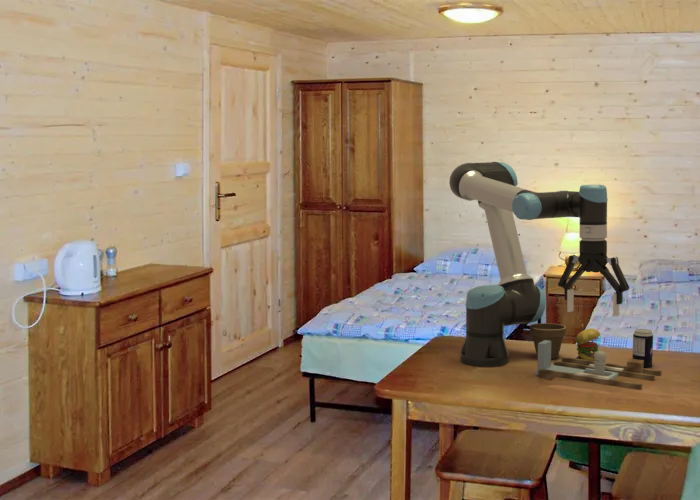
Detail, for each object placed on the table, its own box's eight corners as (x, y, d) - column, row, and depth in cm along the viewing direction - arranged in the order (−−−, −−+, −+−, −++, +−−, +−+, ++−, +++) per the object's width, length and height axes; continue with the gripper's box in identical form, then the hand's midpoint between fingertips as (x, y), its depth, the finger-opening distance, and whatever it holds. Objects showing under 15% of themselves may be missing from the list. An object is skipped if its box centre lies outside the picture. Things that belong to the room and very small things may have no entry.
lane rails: (538, 377, 264) (538, 367, 264) (562, 364, 279) (563, 354, 279) (640, 394, 247) (640, 382, 247) (661, 379, 262) (661, 368, 261)
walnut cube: (626, 375, 262) (626, 361, 261) (629, 372, 265) (629, 358, 265) (640, 376, 260) (641, 363, 259) (643, 373, 263) (643, 360, 263)
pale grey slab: (534, 374, 267) (535, 344, 266) (547, 368, 274) (547, 338, 273) (607, 386, 254) (608, 354, 253) (618, 378, 261) (619, 348, 260)
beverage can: (653, 372, 269) (654, 333, 267) (633, 371, 270) (634, 332, 268) (650, 367, 274) (652, 328, 273) (631, 367, 275) (632, 328, 274)
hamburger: (598, 365, 277) (599, 327, 276) (574, 363, 280) (574, 325, 278) (601, 360, 284) (601, 322, 283) (577, 358, 287) (578, 320, 285)
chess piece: (612, 381, 259) (613, 351, 258) (600, 385, 256) (601, 354, 255) (597, 378, 264) (598, 347, 262) (585, 381, 260) (586, 350, 259)
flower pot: (535, 351, 297) (536, 321, 295) (570, 355, 291) (570, 324, 290) (524, 358, 287) (524, 327, 286) (559, 363, 281) (559, 331, 280)
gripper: (546, 239, 261) (546, 311, 263) (631, 242, 246) (631, 319, 248) (557, 236, 267) (557, 308, 269) (641, 239, 252) (640, 315, 254)
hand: (592, 313), depth 258 cm, fingers open, 13 cm apart
